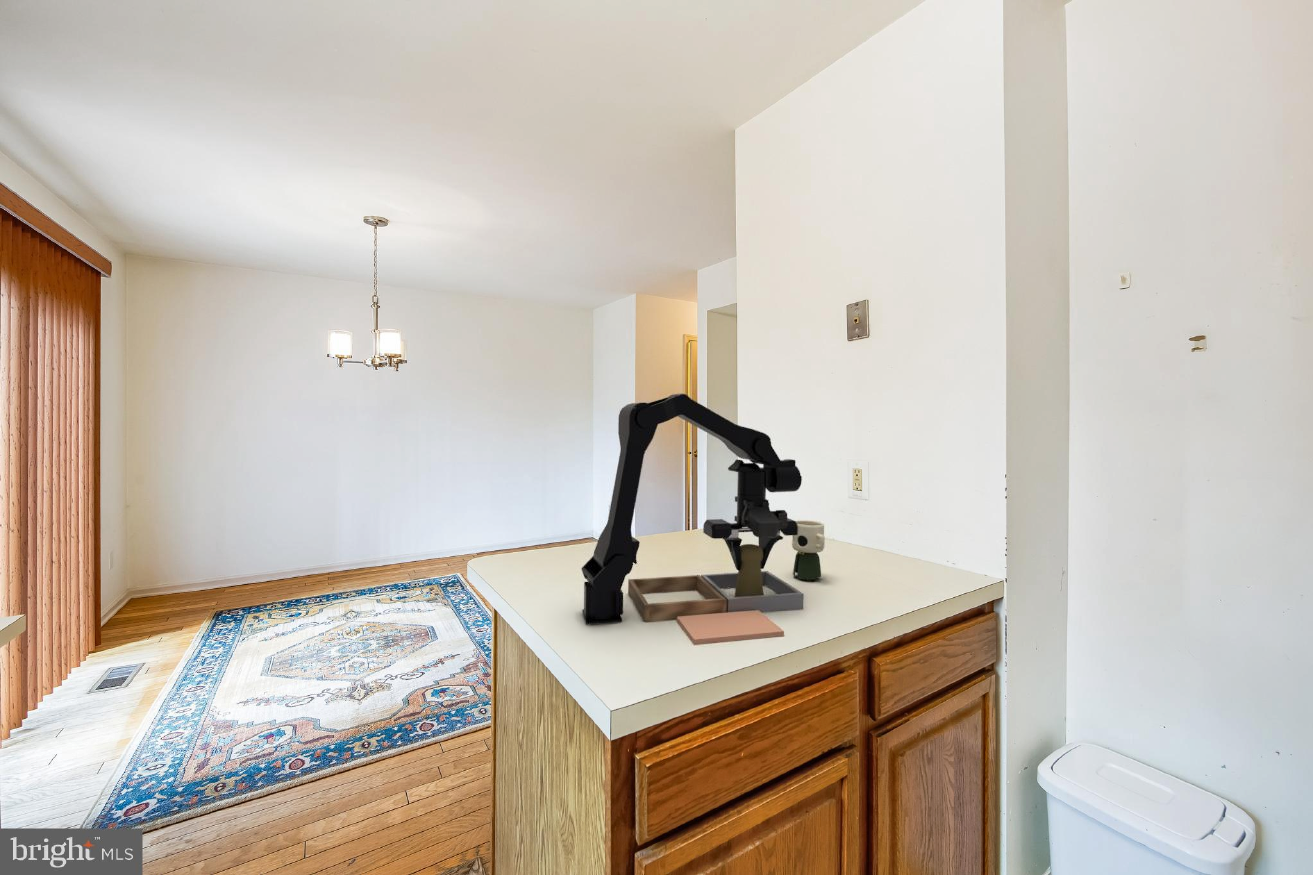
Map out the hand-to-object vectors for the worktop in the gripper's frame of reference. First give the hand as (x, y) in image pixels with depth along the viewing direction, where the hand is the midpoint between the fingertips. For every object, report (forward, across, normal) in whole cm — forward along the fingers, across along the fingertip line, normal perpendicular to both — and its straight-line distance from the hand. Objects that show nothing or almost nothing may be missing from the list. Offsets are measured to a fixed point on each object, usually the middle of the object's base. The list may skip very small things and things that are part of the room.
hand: (749, 569), depth 106 cm
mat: (+6, -10, -14) cm, 18 cm away
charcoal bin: (+6, 0, 0) cm, 6 cm away
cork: (+6, 0, 0) cm, 6 cm away
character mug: (+6, +19, +10) cm, 22 cm away
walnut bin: (+6, -16, 0) cm, 17 cm away
